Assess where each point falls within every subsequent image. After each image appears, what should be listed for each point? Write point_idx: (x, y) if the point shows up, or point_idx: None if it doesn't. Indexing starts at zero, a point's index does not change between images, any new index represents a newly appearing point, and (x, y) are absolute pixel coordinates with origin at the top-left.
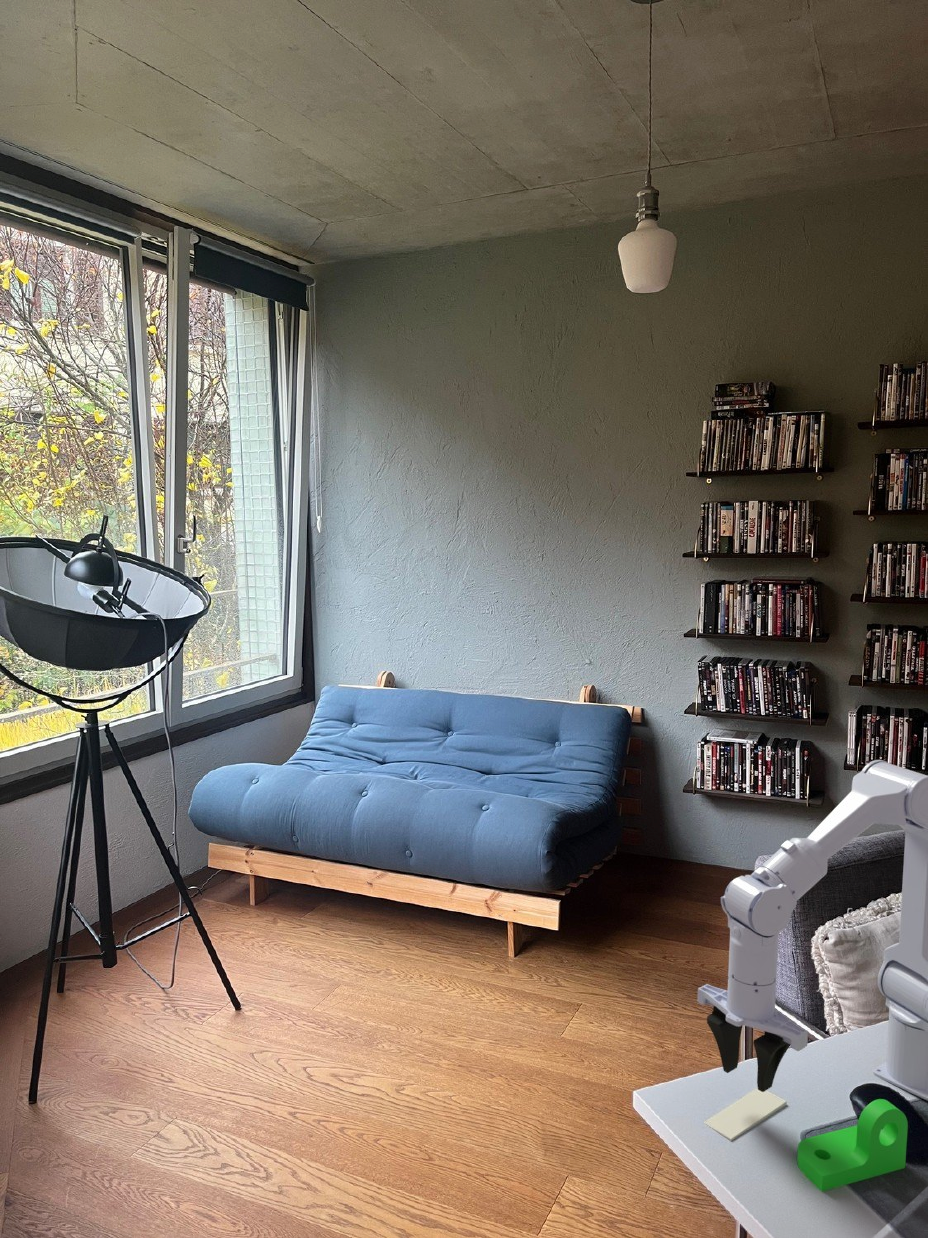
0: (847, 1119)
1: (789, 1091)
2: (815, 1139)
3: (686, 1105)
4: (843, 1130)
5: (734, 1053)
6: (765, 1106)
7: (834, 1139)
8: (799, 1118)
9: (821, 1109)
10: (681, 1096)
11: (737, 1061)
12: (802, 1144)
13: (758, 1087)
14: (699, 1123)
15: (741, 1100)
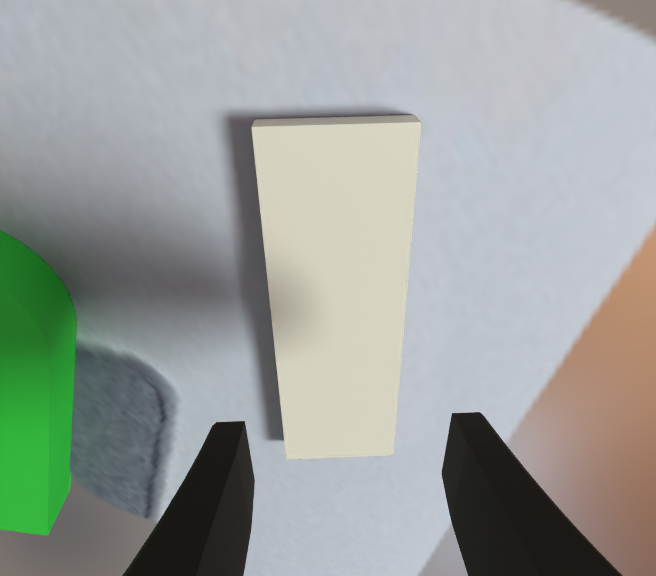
0: (151, 508)
1: (332, 493)
2: (29, 379)
3: (559, 194)
4: (41, 472)
5: (476, 549)
6: (310, 399)
7: (6, 423)
8: None
9: None
10: (604, 227)
11: (450, 507)
12: (20, 321)
13: (237, 433)
14: (449, 136)
15: (391, 366)
